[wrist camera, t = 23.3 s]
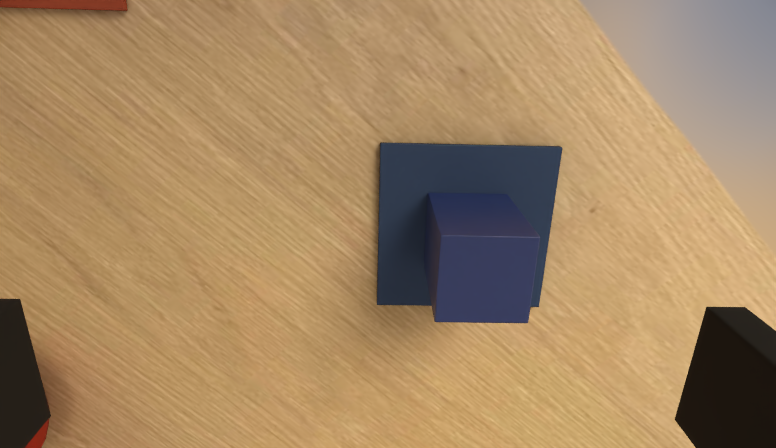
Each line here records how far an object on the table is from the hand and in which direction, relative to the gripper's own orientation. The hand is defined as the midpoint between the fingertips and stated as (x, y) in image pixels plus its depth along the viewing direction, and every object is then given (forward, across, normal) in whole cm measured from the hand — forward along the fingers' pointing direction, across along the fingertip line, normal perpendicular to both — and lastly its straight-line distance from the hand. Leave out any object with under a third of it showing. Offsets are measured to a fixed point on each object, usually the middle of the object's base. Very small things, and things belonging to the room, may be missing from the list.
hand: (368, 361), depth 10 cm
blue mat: (+22, +6, -6) cm, 24 cm away
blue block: (+22, +6, -6) cm, 24 cm away
